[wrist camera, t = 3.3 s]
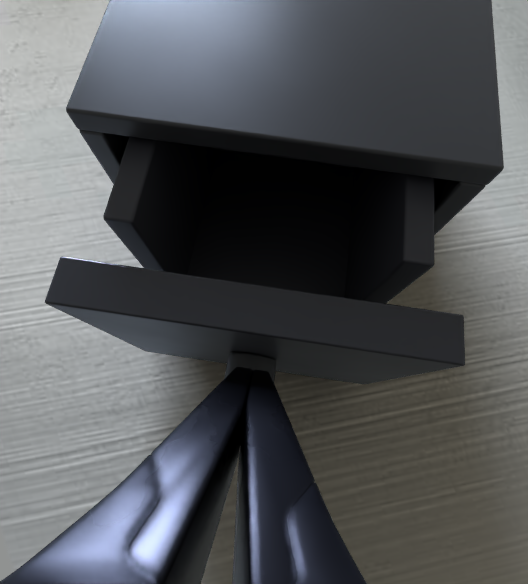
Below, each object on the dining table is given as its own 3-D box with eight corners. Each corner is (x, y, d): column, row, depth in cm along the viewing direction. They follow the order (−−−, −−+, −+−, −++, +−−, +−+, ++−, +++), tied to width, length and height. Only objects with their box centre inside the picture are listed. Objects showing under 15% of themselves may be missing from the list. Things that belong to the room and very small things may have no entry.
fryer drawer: (363, 413, 15) (467, 422, 7) (137, 378, 15) (24, 354, 8) (376, 173, 18) (456, 20, 11) (195, 148, 19) (156, -17, 11)
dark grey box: (377, 290, 17) (505, 169, 8) (161, 259, 18) (63, 109, 9) (387, 103, 21) (483, -121, 12) (207, 79, 21) (171, -156, 12)
